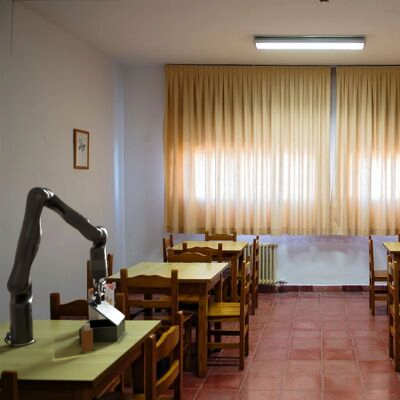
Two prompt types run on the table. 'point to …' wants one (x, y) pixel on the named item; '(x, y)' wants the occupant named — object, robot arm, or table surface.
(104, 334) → the warmer
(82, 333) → the bottle
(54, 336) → the table surface
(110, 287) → the cracker box
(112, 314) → the lid
